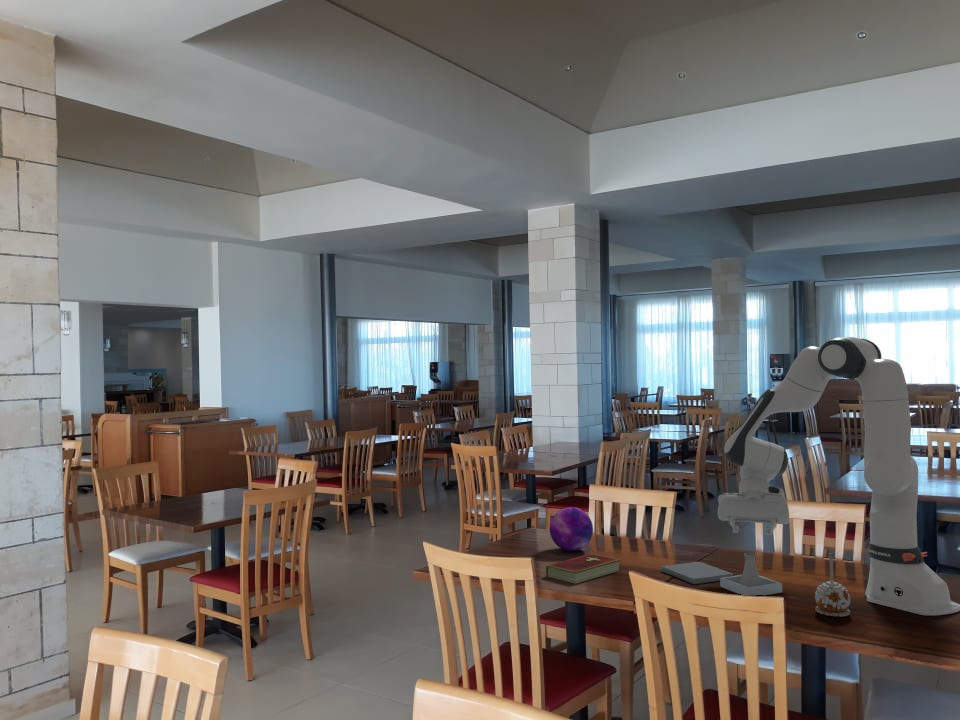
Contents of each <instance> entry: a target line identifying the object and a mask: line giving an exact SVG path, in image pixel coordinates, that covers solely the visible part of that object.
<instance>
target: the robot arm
mask: <svg viewBox="0 0 960 720" xmlns="http://www.w3.org/2000/svg"><path fill="white" fill-rule="evenodd" d="M832 377H838V378H843V379H847V380H855V381H857V382H858V383H859V386H860V388H861V389H860V390H861V398H862V399H861V400H862V401H861V402H862V413H863V422H864V424H863V425H864V443H863V478H864V481H865V483H866V485H867V486H868V487H869V489H871V491H872V492H871V500H870V502H871V503H870V509H869V536H870V537H869V538H870V540H869V543H868V556H869V558H870V560H869V561H870V562H869V574H868V580H867V586H866V589H865V592H864V595H865V596H866V601H867V602H869V603H874V604H877V605H881V606H884V607H885V606H886V607H890V608H892V609H893V608H894V609H897V610H900V611H905V612H909V613H913V614H915V615H916V614H917V615H921V616H943V615H949V614H954V613H958V612H960V604H959V603H957V602H955V601H953V600H951V594H950V591H949V590H950V589H949V586H948V584H947V583H946V581H944V580H943V579H942V578H941V577H940V576H939V575H938V574H937V573H936V572H935V571H934V570H933V569H932V568H930V567H929V565H927V564H926V563H925V559H924V558H925V557H928V552H927V551H924V552H922V551H921V548H920V547H919V546H918V525H917V524H918V521H917V519H918V518H917V517H918V516H917V513H918V500H919V499H918V497H919V495H918V494H919V467H918V464H917V461H916V460H915V457H913V456H912V454H911V438H912V435H911V434H912V423H911V413H910V402H909V391H908V386H907V380H906V377H905V373H904V370H903V367H902V366H901V365H900V363H899V362H897V361H895V360H892V359H889V358H882V352H881V350H880V348H879V347H878V345H877V344H876V343H875V342H873V341H871V340H869V339H866V338H858V337H853V336H845V337H835V338H831V339H829V340H827V341H826V342H824V343H823V344H822V345H821V346H812V345H811V346H807V347H804V348H803V349H802V350H801V351H800V352H799V353H798V355H797V356H796V358H795V359H794V361H793V362H792V363H791V365H790V367H789V369H788V371H787V373H786V375H785V377H784V378H783V380H782V381H781V382H780V383H778V385H776V386H775V387H773V388H768V389H766V390H764V392H763V394H762V395H761V396H760V397H759V398H757V399H758V400H756V402H755V403H754V405H753V406H752V407H751V409H750V410H749V412H748V413H747V414H746V416H745V417H744V418H743V420H742V421H741V422H740V424H739V426H738V427H737V428H736V429H735V430H734V432H733V433H731V435H730V436H728V438H727V440H726V442H725V444H724V446H723V454H724V457H725V458H726V460H727V461H728V463H730V464H731V465H735V466H737V467H740V469H739V477H740V481H739V485H738V492H730V493H729V492H722V494H719V495H718V497H717V504H718V506H717V517H718V519H719V520H720V521H721V522H722V521H725V522H729V525H731V527H732V533H734V534H735V533H736V534H739V525H737V524H736V522H738V523H739V522H742V523H757V524H758V523H759V524H770V525H769V526H767V527H766V535H767V536H773V531H774V530H775V528H777V525H787V524H789V523H790V512H789V503H788V501H787V499H786V497H785V495H786V494H785V491H784V489H783V488H780V487H777V486H775V485H770V481H773V480H776V479H777V478H779V477H780V476H782V475H784V473H785V472H786V470H787V468H788V464H789V456H788V453H787V450H786V449H785V447H784V446H781V445H779V444H777V443H774V442H770V441H766V440H764V439H760V438H759V437H754V434H755V433H756V431H757V430H758V429H759V427H761V425H762V423H763V422H764V420H766V418H768V417H769V416H772V415H774V414H779V413H798V412H799V413H800V412H804V411H808V410H810V409H813V408H814V406H816V405H817V403H818V402H819V401H820V399H821V397H822V395H823V393H824V391H825V389H826V387H827V385H828V383H829V382H830V380H831V379H832Z"/></svg>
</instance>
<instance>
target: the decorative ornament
mask: <svg viewBox="0 0 960 720" xmlns="http://www.w3.org/2000/svg"><path fill="white" fill-rule="evenodd" d="M828 558H829V581H825V582H821V584H819V585H817V587H816V590H815V592H814V602H815V604H816V606H815V608H814V609H815V612H817V613H819V614H821V615H825V616H828V617H829V616H831V617H834V618H835V617H839V618H840V617H848V616H849V615H851V610H850V609H849V606H850V605H851V595H850V593H849V591H848V590H847V589H846V587H845V586H843V585H844V584H841V583H839V582H836V581H834V580H835V579H834V553H829V557H828Z"/></svg>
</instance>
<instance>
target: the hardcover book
mask: <svg viewBox="0 0 960 720" xmlns="http://www.w3.org/2000/svg"><path fill="white" fill-rule="evenodd" d="M620 562H621V559H620V558H616V557H615V558H614V557H610V556H606V555H600V554H596V553H589V554H584V555H581V556H577V557H573V558H569V559H565V560H561V561H558V562H554V563H550V564H547V565H546V566H545V576H546V578H552V579H556V580H560V581H564V582H569V583H572V584H579V583H583V582H586V581H590V580H593V579H596V578H599V577H603V576H606V575H609V574H613V573H617V572H620Z"/></svg>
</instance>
